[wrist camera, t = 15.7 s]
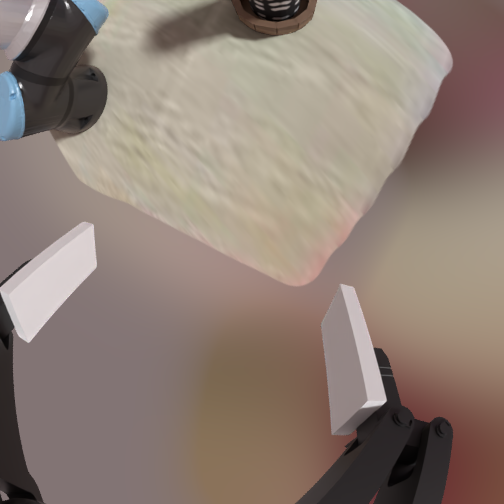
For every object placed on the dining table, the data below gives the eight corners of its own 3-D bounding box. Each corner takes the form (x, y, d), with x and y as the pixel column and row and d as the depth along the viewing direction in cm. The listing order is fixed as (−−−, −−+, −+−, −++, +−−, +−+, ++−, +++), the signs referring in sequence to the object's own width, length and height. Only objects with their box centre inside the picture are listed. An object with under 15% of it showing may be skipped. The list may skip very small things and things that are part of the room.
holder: (228, 28, 34) (223, 21, 31) (245, -26, 28) (242, -36, 24) (305, 42, 35) (308, 35, 31) (319, -13, 28) (322, -23, 24)
